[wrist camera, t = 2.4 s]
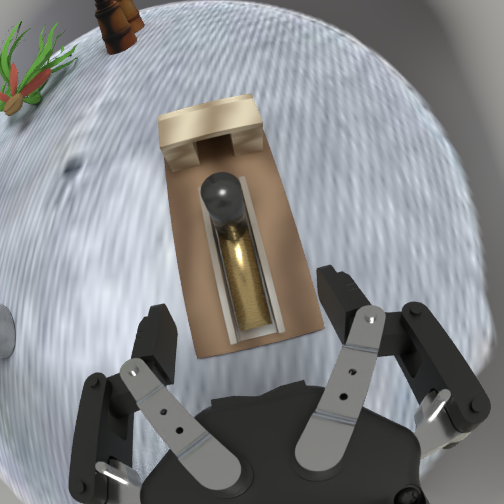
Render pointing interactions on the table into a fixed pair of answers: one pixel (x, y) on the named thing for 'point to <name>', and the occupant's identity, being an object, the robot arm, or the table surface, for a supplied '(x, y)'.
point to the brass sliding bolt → (236, 249)
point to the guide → (258, 220)
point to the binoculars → (118, 24)
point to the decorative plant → (27, 74)
